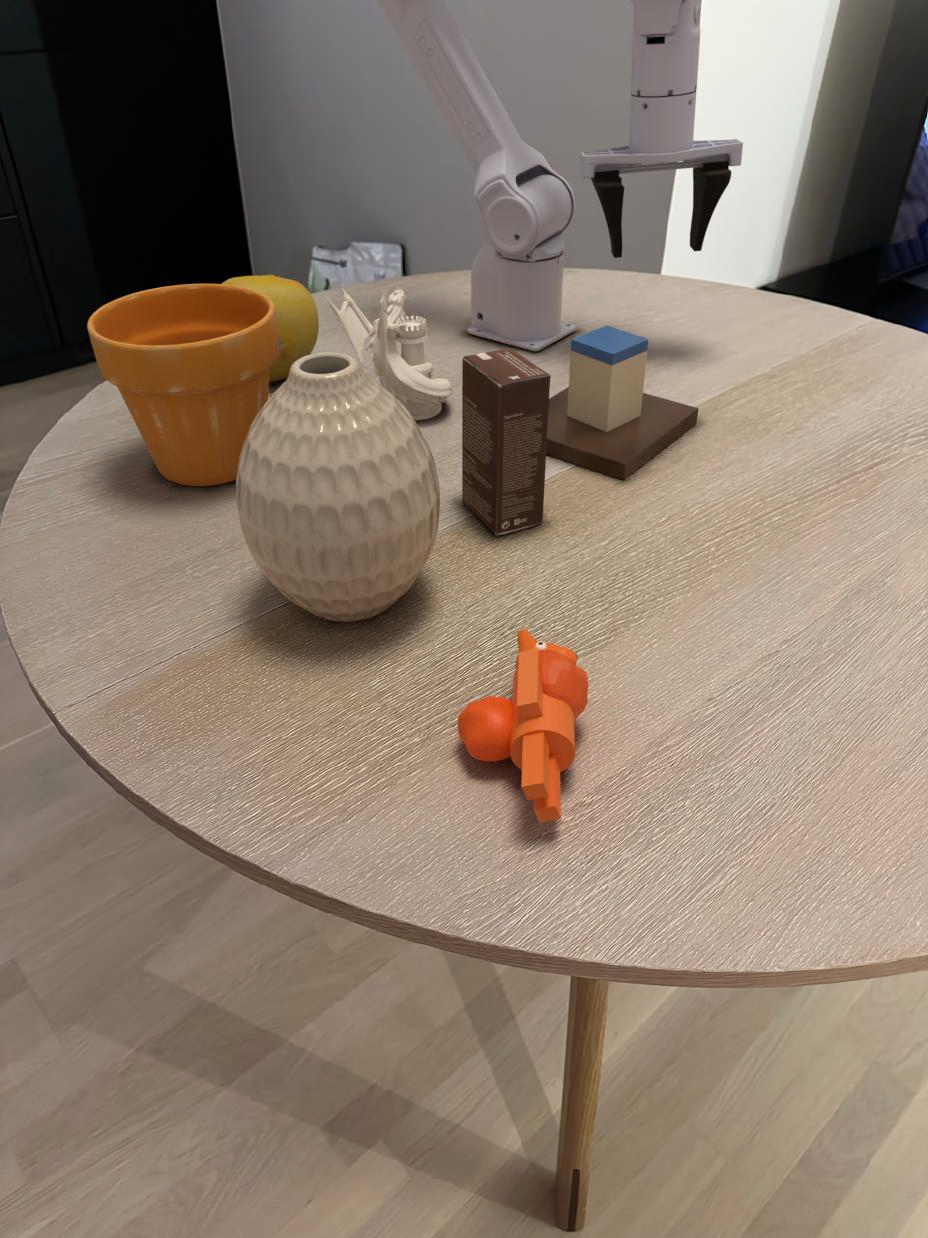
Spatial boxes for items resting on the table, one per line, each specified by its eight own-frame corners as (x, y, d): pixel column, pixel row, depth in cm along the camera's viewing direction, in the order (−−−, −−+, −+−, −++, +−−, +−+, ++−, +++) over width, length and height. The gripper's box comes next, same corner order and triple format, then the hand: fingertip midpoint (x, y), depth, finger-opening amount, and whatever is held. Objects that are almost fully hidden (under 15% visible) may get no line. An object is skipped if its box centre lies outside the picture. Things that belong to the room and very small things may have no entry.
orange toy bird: (580, 758, 44) (574, 605, 53) (432, 787, 46) (452, 634, 55) (607, 826, 46) (597, 669, 56) (467, 850, 48) (480, 695, 58)
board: (505, 440, 82) (505, 425, 81) (584, 390, 90) (584, 376, 89) (623, 480, 76) (625, 464, 75) (696, 423, 84) (699, 407, 83)
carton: (566, 415, 82) (571, 339, 78) (600, 400, 85) (606, 324, 80) (606, 432, 80) (613, 353, 75) (640, 416, 82) (648, 338, 78)
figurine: (458, 395, 90) (455, 268, 82) (445, 431, 84) (440, 298, 76) (350, 390, 91) (337, 265, 84) (329, 425, 85) (313, 293, 78)
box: (547, 523, 71) (553, 373, 64) (494, 538, 69) (495, 386, 62) (509, 488, 75) (512, 344, 68) (459, 501, 74) (456, 355, 66)
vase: (369, 679, 57) (343, 431, 47) (217, 614, 63) (163, 379, 52) (478, 576, 66) (476, 347, 55) (335, 527, 71) (309, 310, 61)
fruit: (341, 377, 94) (331, 276, 87) (242, 404, 89) (224, 299, 83) (296, 346, 100) (284, 250, 94) (202, 370, 96) (182, 271, 90)
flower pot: (207, 413, 87) (178, 272, 80) (328, 446, 82) (311, 298, 74) (91, 478, 78) (45, 325, 70) (219, 520, 72) (185, 359, 64)
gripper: (733, 80, 85) (720, 235, 93) (576, 93, 86) (576, 246, 94) (755, 89, 80) (739, 253, 88) (586, 104, 80) (585, 266, 88)
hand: (656, 251), depth 90 cm, fingers open, 7 cm apart
